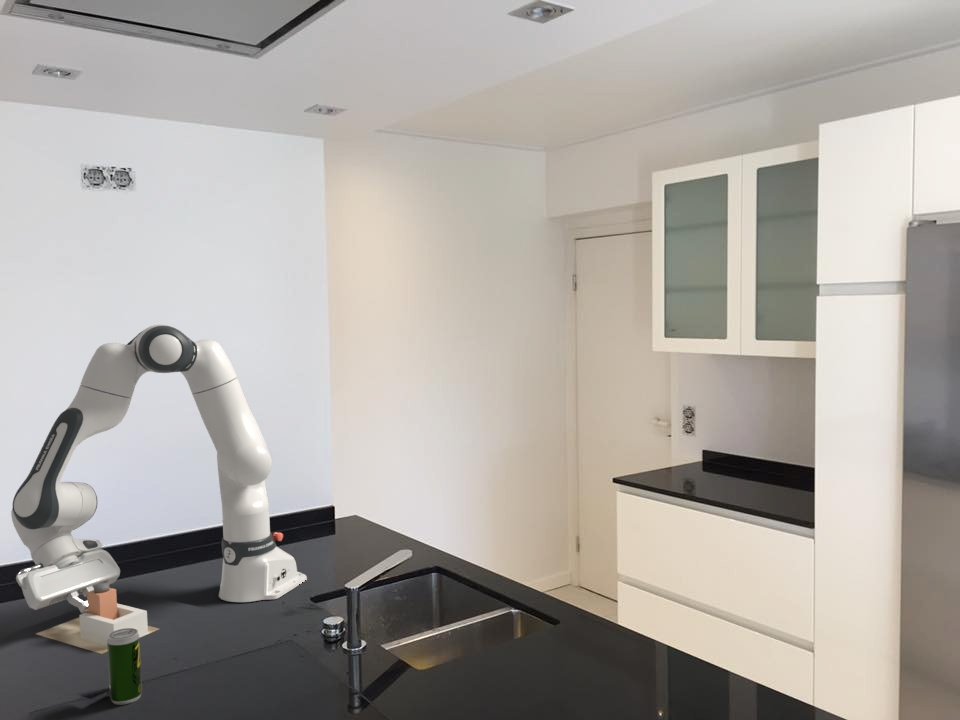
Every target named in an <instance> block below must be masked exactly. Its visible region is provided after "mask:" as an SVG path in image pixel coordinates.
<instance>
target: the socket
mask: <svg viewBox="0 0 960 720" xmlns="http://www.w3.org/2000/svg"><path fill="white" fill-rule="evenodd" d="M117 616H118V618H117V619H115V620H112V619H108V618H105V617H101V616H97V615H93V614H90V613H88V612H84V613H80V614H79V617H80V635H81V638H82V639H85V640H89V641H92V642H96V643H99V644H102V645H106V646H107V640H108V635H109V634H110V633H112V632H113V631H116V630H119V629H125V628H134V629H137V630H138V634H139V638H142V636H143V637H145V636H146V635H149V634H148V626H149V625H148V611H147V610H145V609H141V608H137V607H133V606H129V605H124V604H120V603H118V602H117ZM144 635H145V636H144Z"/></svg>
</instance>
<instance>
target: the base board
mask: <svg viewBox="0 0 960 720" xmlns="http://www.w3.org/2000/svg"><path fill="white" fill-rule="evenodd" d="M159 630H160V628H159V627H158V628H157V627H154V626H151V625H148V634H147V635H149V634H152V633H154V632H156V631H159ZM35 635H38V636H41V637H44V638H47V639H51V640H54V641H58V642H61V643H63V644H66V645H69V646H74V647H76V648H80V649H82V650H83V649H84V650H86V651H87V650H88V651H91V652H93V653H97V654H99V655H103V654H105V653H108V650H107V646H106V645H102V644H99V643H96V642H92V641H89V640H85V639H82V638H81V635H80V616H79V617H76V618H74V619H71V620H68V621H66V622H63V623H60V624H57V625H55V626H52V627H50V628H47V629H44V630H42V631H39V632H36V633H35ZM145 636H146V635H144V636H142V637H145ZM142 637H141V638H142Z"/></svg>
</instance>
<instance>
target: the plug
mask: <svg viewBox="0 0 960 720" xmlns="http://www.w3.org/2000/svg"><path fill="white" fill-rule="evenodd" d="M117 597H118V596H117V588H111V587H110V584H109V583H99V584H96V585H94V590H92V591H90V592H87V597H86V598H88V611H87V613H90V614H93V615H97V616H101V617H105V618H108V619H112V620H115V619H117V618H118V616H117V603H118V601H117V600H118V598H117Z"/></svg>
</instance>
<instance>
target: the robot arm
mask: <svg viewBox="0 0 960 720" xmlns="http://www.w3.org/2000/svg"><path fill="white" fill-rule="evenodd" d="M148 372H151V373H155V374H157V373H158V374H170V373H181V375H183V377H184V378H185V381H187V384H188V387H189V390H190V392H191V395H192V397H193V399H194V403H195V405H196V407H197V410H198V412H199V414H200V417H201V420H202V421H203V425H204V427H205V428H206V430H207V431H206V432H207V433H208V434H209V437H210V439H211V441H212V443H213V445H214V446H213V447H214V448H215V450H216V460H217V461H216V462H217V463H216V464H217V473H218V484H219V493H220V501H221V510H222V511H221V512H222V534H223V535H222V536H223V537H222V538H221V554H222V557H223V558H222V568H221V579H220V580H221V581H220V584H219V592H218V598H219V599H220V600H223V601H225V602H230V603H251V602H256V601H257V602H258V601H262V600H263V601H265V600H277V599H279V598H280V597H283V595H286V594H287V593H288V592H290V591H292V590H294V589H296V587H298V586H300V585H301V584H303V583H304V582H306V581H307V580H308V577H307V575H306V574H304V573H302V572H300V571H298V567H297V562H296V560H295V557H293V556H292V555H291V554H290V553H288V552H286V551H284V550H283V549H281V548H280V547H278V546H277V544H276V541H278V542H282V540H283V538H284V534H283V533H282V532H273V533H272V532H271V525H270V524H271V521H270V501H269V498H268V493H267V492H268V491H267V484H266V480H267V478H268V477H269V475H270V473H271V471H272V467H273V458H272V454H271V452H270V449H269V447H268V445H267V442H266V439H265V438H264V436H263V434H262V431H261V429H260V426H259V424H258V422H257V420H256V418H255V416H254V414H253V413H252V410H251V408H250V405H249V404H248V400H247V398H246V396H245V393H244V391H243V388H242V386H241V383H240V381H239V378H238V375H237V372H236V370H235V368H234V366H233V363H232V362H231V360H230V358H229V357H228V354H227V353H226V351H225V350H224V348H223V347H222V345H221V344H220V343H219V342H218V341H217V340H214V339H200V340H196V341H193V340H192V339H191V338H189V337H188V336H187V335H186V334H184V332H182V331H181V330H179V329H177V328H175V327H172V326H170V325H166V324H153V325H151V326H149V327H146V328H144V329H143V330H142V331H140V332H139V333H138V334H136V336H134V337H133V338H132V339H131V340H130V341H129V342H127V344H124V343H120V342H118V343H117V342H107V343H104V344H101V345H100V346H98V348H97V349H96V350H95V352H94V354H93V356H92V357H91V359H90V361H89V363H88V365H87V367H86V368H85V371H84V373H83V376H82V378H81V382H80V384H79V386H78V390H77V392H76V394H75V396H74V398H73V400H72V401H71V403H70V404H69V405H68V407H67V408H66V409H65V410H64V411H62V412H61V413H60V414H59V415H58V417H57V418H56V420H55V421H54V422H53V424H52V427H51V429H50V430H49V433H48V434H47V436H46V439H45V441H44V442H43V445H42V446H41V448H40V451H39V453H38V455H37V457H36V459H35V461H34V462H33V465H32V467H31V469H30V471H29V473H28V475H27V477H26V478H25V479H24V481H23V482H22V483H21V485H20V486H19V488H18V489H17V490H16V492H15V494H14V497H13V499H12V508H11V511H10V512H11V513H10V515H11V520H12V524H13V527H14V529H15V531H16V533H17V535H18V537H19V539H20V541H21V542H22V544H23V545H24V546H25V547H26V548H28V549H29V551H30V557H31V559H32V561H33V562H34V564H35V565H33V566H30V567H25V568H23V569H20V570H19V572H18V573H17V574H16V577H15V580H16V582H17V585H19V587H20V588H21V590H22V594H23V596H24V599H25V601H26V603H27V605H28V607H29V608H30V609H32V610H34V611H36V610H40V609H42V608H45V607H48V606H51V605H54V604H56V603H60V602H62V601H65V600H66V601H67V602H68V603H69V604H70V605H72V606H74V607H75V608H78V610H79V611H80V614H83V613H88V598H87V592H90V591H92V590H94V585H96V584H99V583H109V585H112V584H114V583H115V582H116V581H117V580H118V578H119V577H120V574H121V569H120V566H118V564H117V562H116V561H115V559H114V558H113V556H112V555H111V554H110V553H109V552H108V551H107V550H104V549H103V548H102V547H103V544H102V542H101V540H100V539H83V538H82V539H81V538H74V537H73V535H72V532H73V531H75V530H76V529H78V528H80V527H82V526H83V525H84V524H86V523H87V522H88V521H89V520H91V519H92V518H93V516H94V515H95V514H96V511H97V508H98V496H97V493H96V491H95V490H94V487H93V486H92V485H90V484H88V483H85V482H78V481H61V479H62V477H63V475H64V473H65V470H66V468H67V466H68V464H69V461H70V460H71V458H72V455H73V453H74V451H75V450H76V448H77V447H78V446H79V445H80V444H82V442H84V441H85V440H87V439H88V438H90V437H93V436H95V435H97V434H100V433H103V432H107V431H109V430H111V429H113V428H115V427H117V426H118V425H119V424H120V423H121V422H122V421H123V419H124V418H125V416H126V415H127V412H128V410H129V408H130V404H131V402H132V398H133V395H134V393H135V388H136V385H137V383H138V381H139V380H140V378H141V377H142V376H143V375H144V374H146V373H148ZM305 580H306V581H305ZM302 582H303V583H302ZM299 584H300V585H299ZM80 595H83V597H85V598H87V599H86V600H85V601H84V600H83V599H81V598H79V596H80Z"/></svg>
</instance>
